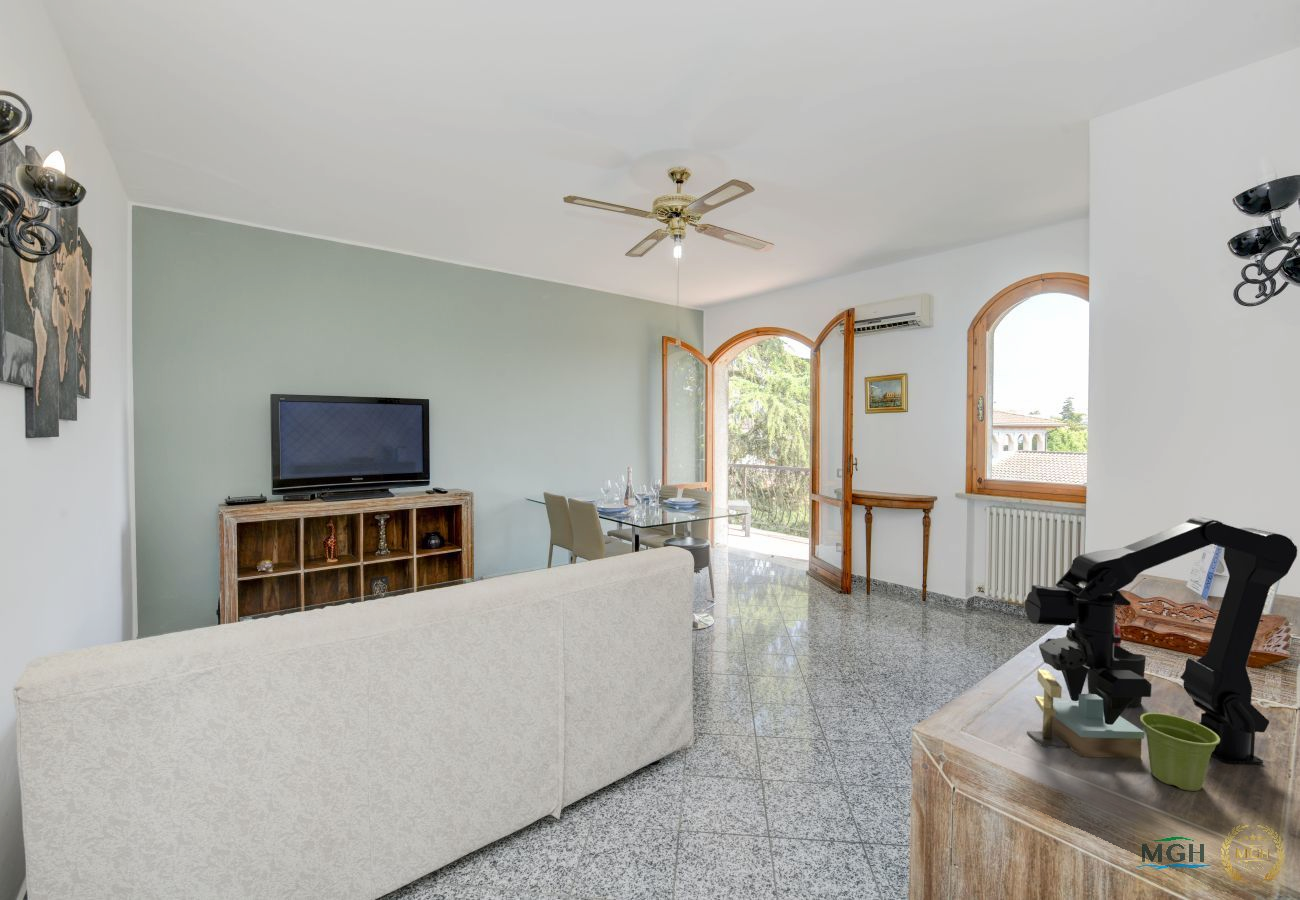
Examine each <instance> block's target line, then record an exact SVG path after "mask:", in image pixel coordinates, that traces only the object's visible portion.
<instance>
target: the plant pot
mask: <svg viewBox="0 0 1300 900" xmlns="http://www.w3.org/2000/svg"><path fill="white" fill-rule="evenodd" d="M1139 719H1140V720H1139V721H1140V723H1141V724H1142V725H1143V731H1144V733H1145V735H1146V743H1147V750H1148V751H1147V752H1148V760H1149V769H1150V772H1151V774H1152V775H1153V777H1155V778H1156V779H1158V780H1159V781H1160V782H1161V783H1162V782H1163V783H1164V784H1166V785H1173V786H1176V787H1178V788H1179V789H1181V790H1184V791H1190V792H1191V791H1193V792H1196V791H1200V790H1201V789H1202V788H1203V784H1204V781H1205V776H1206V774H1207V773H1206V772H1207V770H1208V765H1209V762H1210V760H1211V756H1212V755H1211V753H1212V752H1213V751H1214V749H1215V746H1216V745H1217V744H1219V743H1220V738H1219V736H1218V735H1217V734H1216V733H1215V732H1213V731H1212V730H1210V729H1208V728H1207V727H1205V726H1203V725H1200V724H1199V723H1198V722H1195V721H1193V720H1189V719H1187V718H1183V717H1181V716H1177V715H1174V714H1173V715H1172V714H1167V713H1162V712H1161V713H1160V712H1145V713H1143V714H1141V715H1140V716H1139Z"/></svg>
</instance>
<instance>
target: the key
mask: <svg viewBox="0 0 1300 900" xmlns="http://www.w3.org/2000/svg"><path fill="white" fill-rule="evenodd" d="M1036 676H1037V682H1038V683H1039V684H1040V686H1041V687H1042V688H1043V696H1039V695H1034V702H1035V703H1036V705H1037V706H1038V707H1039V709H1040V711H1041V712H1042V731H1043V738H1045V739H1049V740H1051V739H1052V721H1053V715H1055V716H1056V709H1055V708H1054V707H1053V701H1054V698H1055V699H1056V698H1057V699H1062V691H1063V690H1062V688H1063V687H1062V686H1061V685H1060V683H1059V682H1058V680H1056V679H1055V677H1054V676H1053V675H1052V674H1051V672H1049V670H1045V669H1037V675H1036Z"/></svg>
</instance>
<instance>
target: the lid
mask: <svg viewBox="0 0 1300 900" xmlns="http://www.w3.org/2000/svg"><path fill="white" fill-rule="evenodd" d="M1053 707H1054V708H1055V709H1056V716H1055V715H1053V716H1054V717H1056V718H1057V719H1058V720H1059V721H1061V722H1062V723H1063V724H1065V725H1066V726H1067V727H1069V728H1070V729H1071V730H1072V731H1074V732H1075V733H1076V734H1078V735H1079V736H1080V737H1090V738H1134V739H1145V730H1142V729H1140V728H1139V727H1138V726H1137V725H1135V724H1133V723H1132V722H1130V721H1128V720H1127V719H1126V718H1123V717H1122V716H1121V715H1120V716H1119V717H1118V719H1117V720H1116V721H1115V722H1114V724H1113V725H1107V724H1106V723H1105V719H1104V708H1103V699H1102V698H1101V697H1099V696H1098V695H1096V694H1090V693H1081V694H1079V700H1078V701H1063V700H1062V701H1058V700H1057V701H1056V700H1053Z"/></svg>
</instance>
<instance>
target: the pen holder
mask: <svg viewBox="0 0 1300 900" xmlns="http://www.w3.org/2000/svg"><path fill="white" fill-rule="evenodd" d="M1114 658H1116V659H1118V660H1120V666H1112V668H1111V669H1112V670H1130V671H1132V672H1134V673H1136V674H1138V675H1139V676H1141V677H1143V678H1145V670H1146V669H1145V668H1146V660H1147V659H1146V658H1147V657H1146V656H1145V655H1144V654H1137V653H1132V652H1131V651H1129V650H1127V649H1126V648H1124V647H1122V646H1121V645H1120V646H1117V645H1114ZM1098 675H1099V674H1097V673H1095V672H1094V671H1092V670H1090V669H1088V673H1087V690H1088V694H1096V695H1098V696H1099V697H1101V698H1102V699H1103V695H1102V694H1101V693H1100V692H1099V691H1098V689H1097V688H1096V687H1095V686H1100V685H1099V683H1098ZM1142 699H1143V697H1136V698H1135V699H1134V700H1133V701H1132V702H1131V703H1130V704H1129V705H1128V706H1127V707H1126V708H1137V707H1139V706H1140V705H1142Z"/></svg>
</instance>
